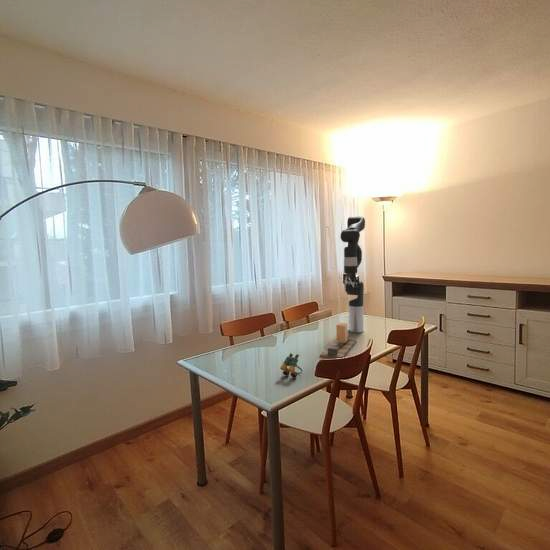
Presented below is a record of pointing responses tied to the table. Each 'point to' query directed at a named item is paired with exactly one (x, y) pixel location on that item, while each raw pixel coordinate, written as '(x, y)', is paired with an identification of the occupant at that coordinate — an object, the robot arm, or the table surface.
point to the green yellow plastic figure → (292, 363)
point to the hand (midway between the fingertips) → (351, 292)
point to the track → (338, 349)
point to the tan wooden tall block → (342, 332)
